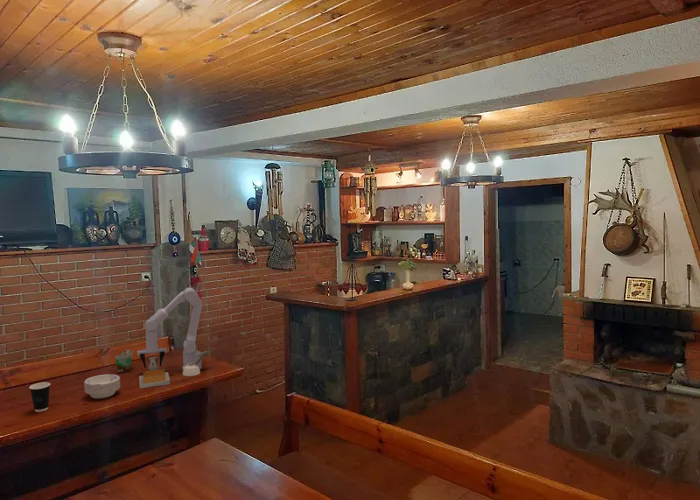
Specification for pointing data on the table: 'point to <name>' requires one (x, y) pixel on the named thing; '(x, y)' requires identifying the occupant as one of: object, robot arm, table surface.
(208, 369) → the table surface
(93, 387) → the paper bowls
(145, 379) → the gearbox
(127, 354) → the food container
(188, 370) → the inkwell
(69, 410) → the table surface
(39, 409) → the dixie cup
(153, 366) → the spout can
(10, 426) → the table surface
